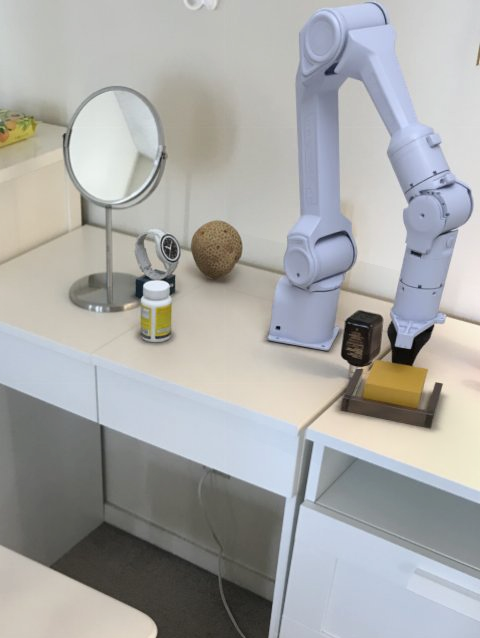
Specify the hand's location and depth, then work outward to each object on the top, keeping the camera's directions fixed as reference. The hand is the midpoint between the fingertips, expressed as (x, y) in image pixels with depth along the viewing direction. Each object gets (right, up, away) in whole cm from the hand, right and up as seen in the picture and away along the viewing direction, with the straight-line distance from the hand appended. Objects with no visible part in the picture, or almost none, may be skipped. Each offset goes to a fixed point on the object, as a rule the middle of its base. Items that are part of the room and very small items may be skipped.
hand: (400, 372), depth 115 cm
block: (-3, -5, -4) cm, 7 cm away
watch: (-33, +18, +26) cm, 45 cm away
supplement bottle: (-34, +8, +13) cm, 37 cm away
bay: (-3, -5, -4) cm, 7 cm away
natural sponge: (-22, +22, +31) cm, 44 cm away
